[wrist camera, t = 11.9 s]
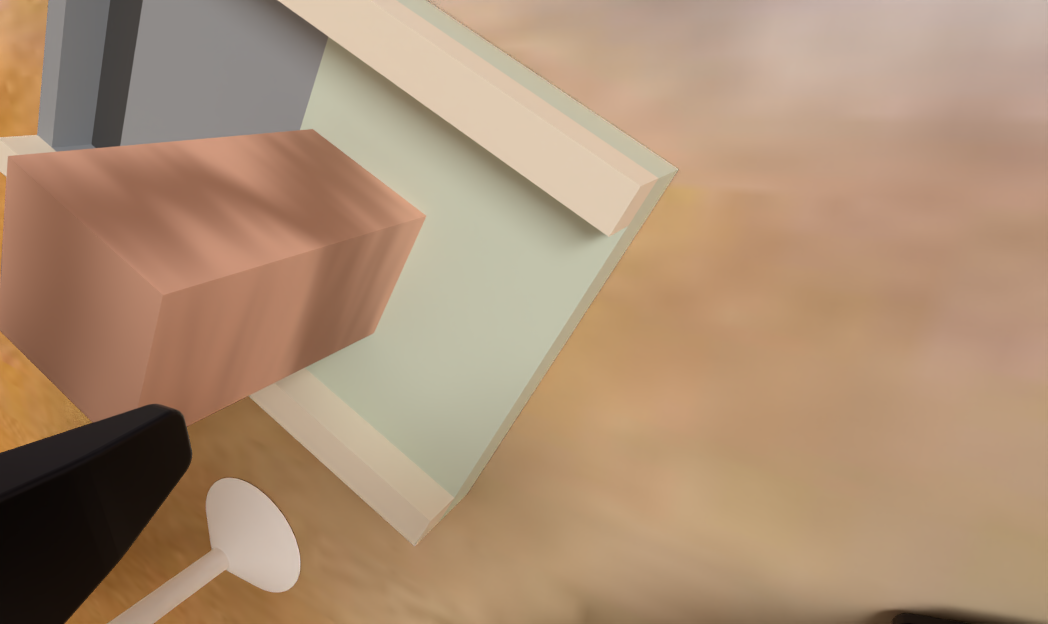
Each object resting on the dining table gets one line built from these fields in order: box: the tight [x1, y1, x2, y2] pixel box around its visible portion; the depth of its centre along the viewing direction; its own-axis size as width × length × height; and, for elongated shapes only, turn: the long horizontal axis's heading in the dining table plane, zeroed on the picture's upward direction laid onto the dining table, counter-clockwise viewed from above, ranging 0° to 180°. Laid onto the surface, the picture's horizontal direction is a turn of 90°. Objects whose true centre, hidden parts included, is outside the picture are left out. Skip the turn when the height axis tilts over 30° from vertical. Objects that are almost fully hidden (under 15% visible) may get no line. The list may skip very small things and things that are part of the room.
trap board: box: [0, 0, 679, 546], centre depth 23 cm, size 24×15×4 cm, turn 60°
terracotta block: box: [0, 129, 426, 426], centre depth 19 cm, size 5×5×9 cm
